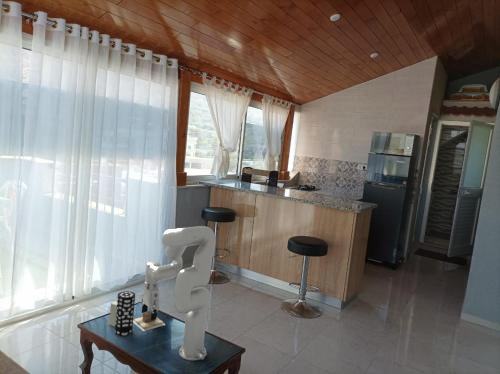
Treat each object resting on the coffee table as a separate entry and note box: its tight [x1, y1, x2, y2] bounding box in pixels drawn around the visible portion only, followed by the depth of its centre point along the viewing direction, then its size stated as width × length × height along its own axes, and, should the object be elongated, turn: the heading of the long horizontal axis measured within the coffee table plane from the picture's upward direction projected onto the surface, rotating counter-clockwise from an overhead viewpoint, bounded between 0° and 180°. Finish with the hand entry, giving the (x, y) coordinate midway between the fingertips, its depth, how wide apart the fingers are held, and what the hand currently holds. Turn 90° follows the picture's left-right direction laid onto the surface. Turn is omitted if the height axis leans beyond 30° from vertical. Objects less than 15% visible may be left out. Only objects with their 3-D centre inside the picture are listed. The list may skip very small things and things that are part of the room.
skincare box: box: [108, 300, 117, 328], centre depth 187 cm, size 6×4×12 cm
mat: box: [133, 320, 166, 332], centre depth 191 cm, size 13×13×1 cm
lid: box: [133, 310, 164, 331], centre depth 191 cm, size 11×11×6 cm
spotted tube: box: [114, 290, 136, 337], centre depth 178 cm, size 8×8×20 cm
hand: (148, 315), depth 191 cm, fingers open, 9 cm apart
